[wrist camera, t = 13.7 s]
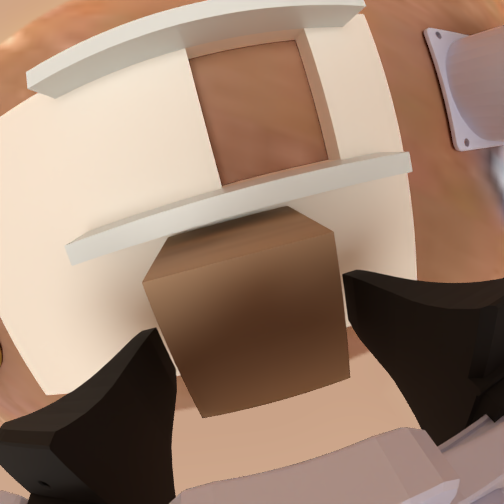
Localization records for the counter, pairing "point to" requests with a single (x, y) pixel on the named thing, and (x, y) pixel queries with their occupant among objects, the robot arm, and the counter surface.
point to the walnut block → (251, 309)
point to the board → (169, 191)
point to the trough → (184, 36)
